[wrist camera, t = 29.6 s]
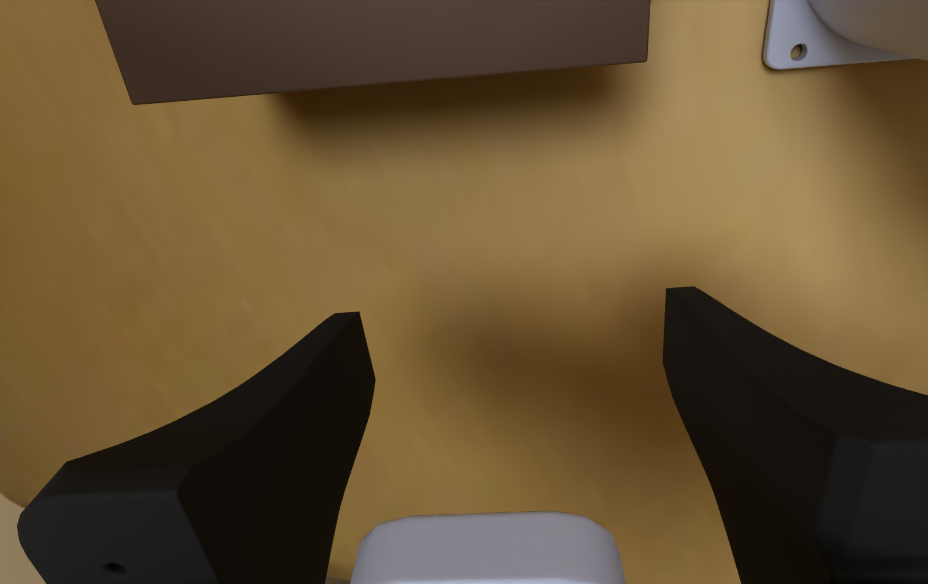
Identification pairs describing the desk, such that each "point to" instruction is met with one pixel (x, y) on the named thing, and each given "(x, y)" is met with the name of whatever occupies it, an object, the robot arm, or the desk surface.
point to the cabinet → (357, 42)
